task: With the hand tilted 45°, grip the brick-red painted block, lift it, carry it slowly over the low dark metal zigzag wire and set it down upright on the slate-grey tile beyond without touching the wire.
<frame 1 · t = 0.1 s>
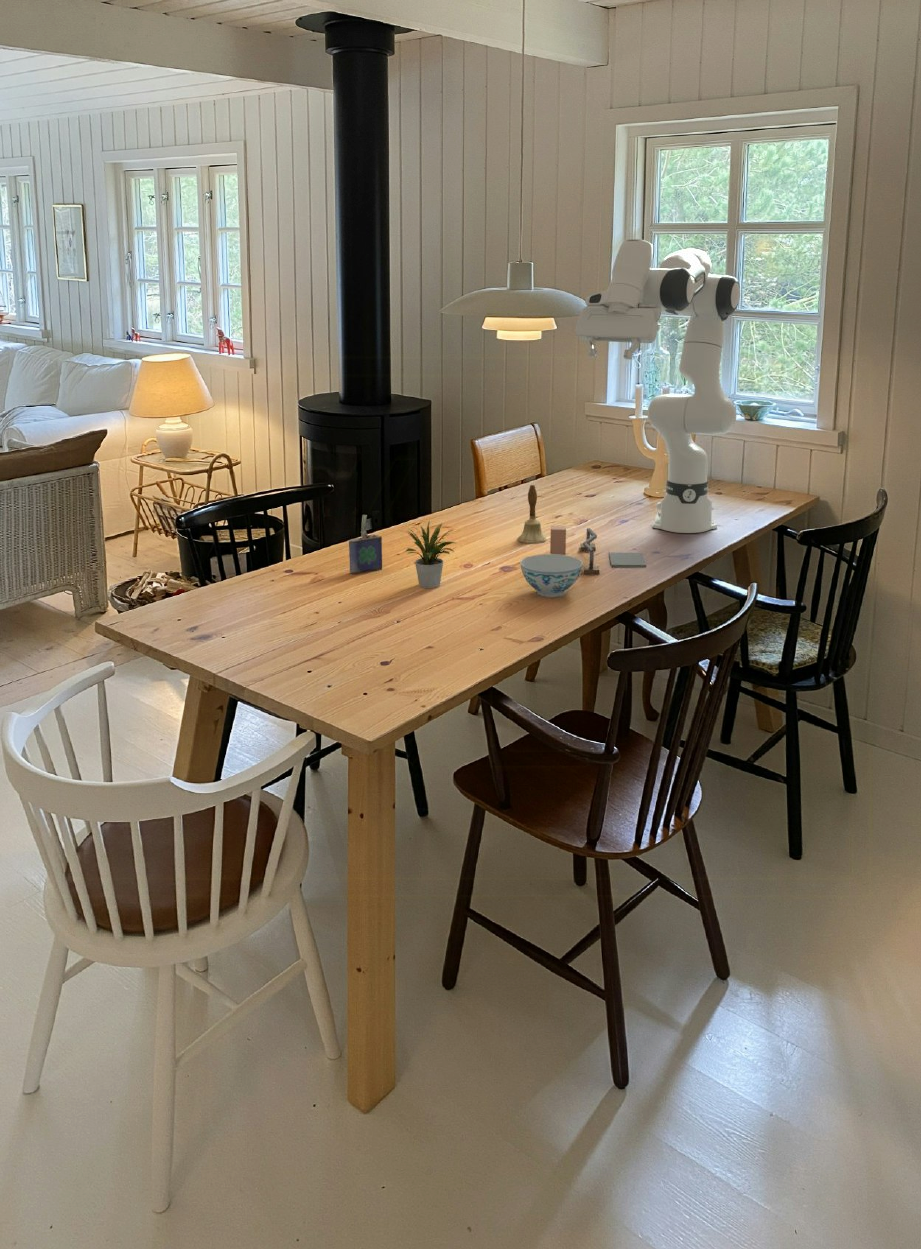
hand: (609, 357, 263), 54 cm above the table, tool tilted 30°, fingers open, 8 cm apart
chinaware: (550, 593, 267), on the table
brick block: (557, 560, 294), on the table
hand bell: (532, 540, 314), on the table
flask: (366, 571, 286), on the table
slate tile: (627, 560, 293), on the table
house plant: (425, 587, 273), on the table
zigzag wire: (589, 560, 293), on the table
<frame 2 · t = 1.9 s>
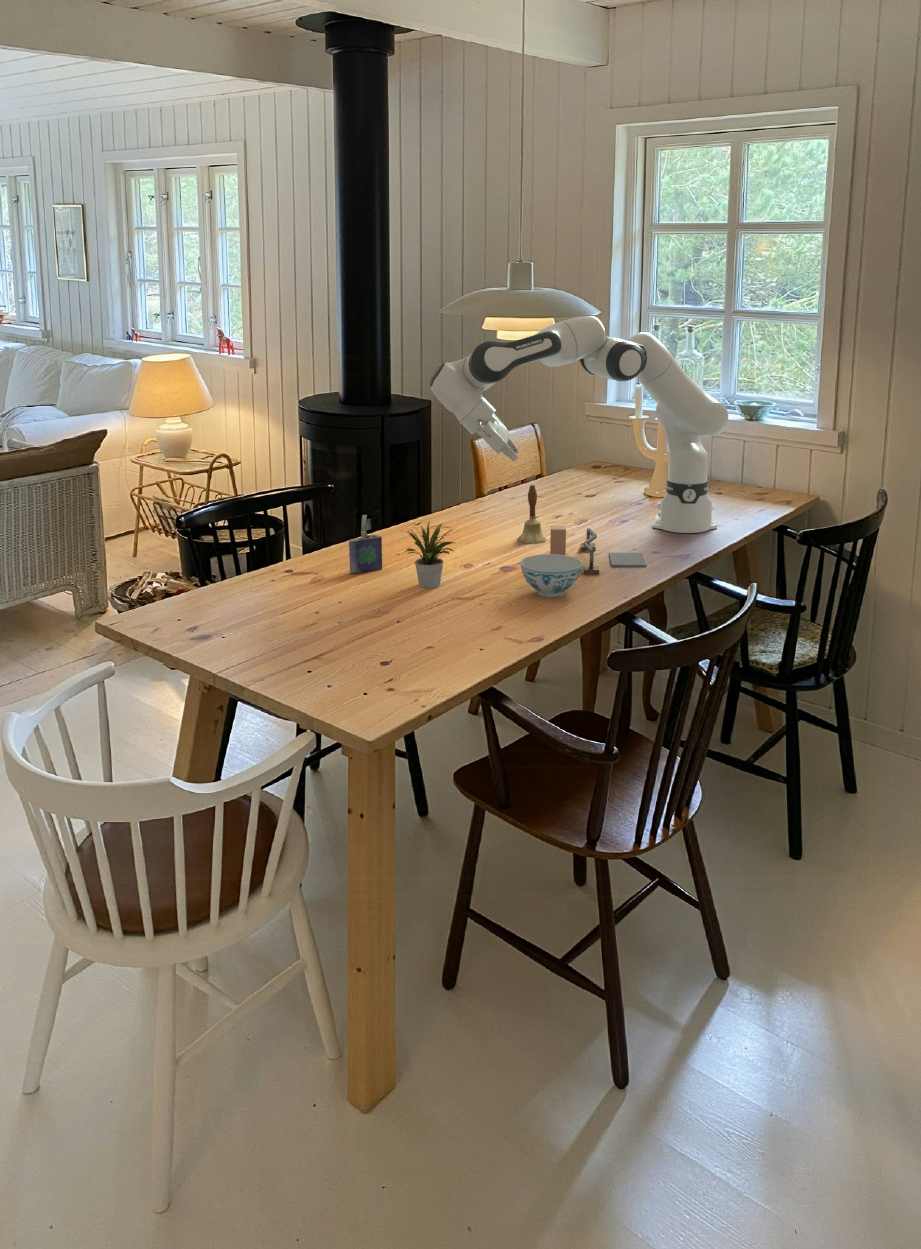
hand: (516, 456, 285), 28 cm above the table, tool tilted 45°, fingers open, 8 cm apart
nothing on the table moved.
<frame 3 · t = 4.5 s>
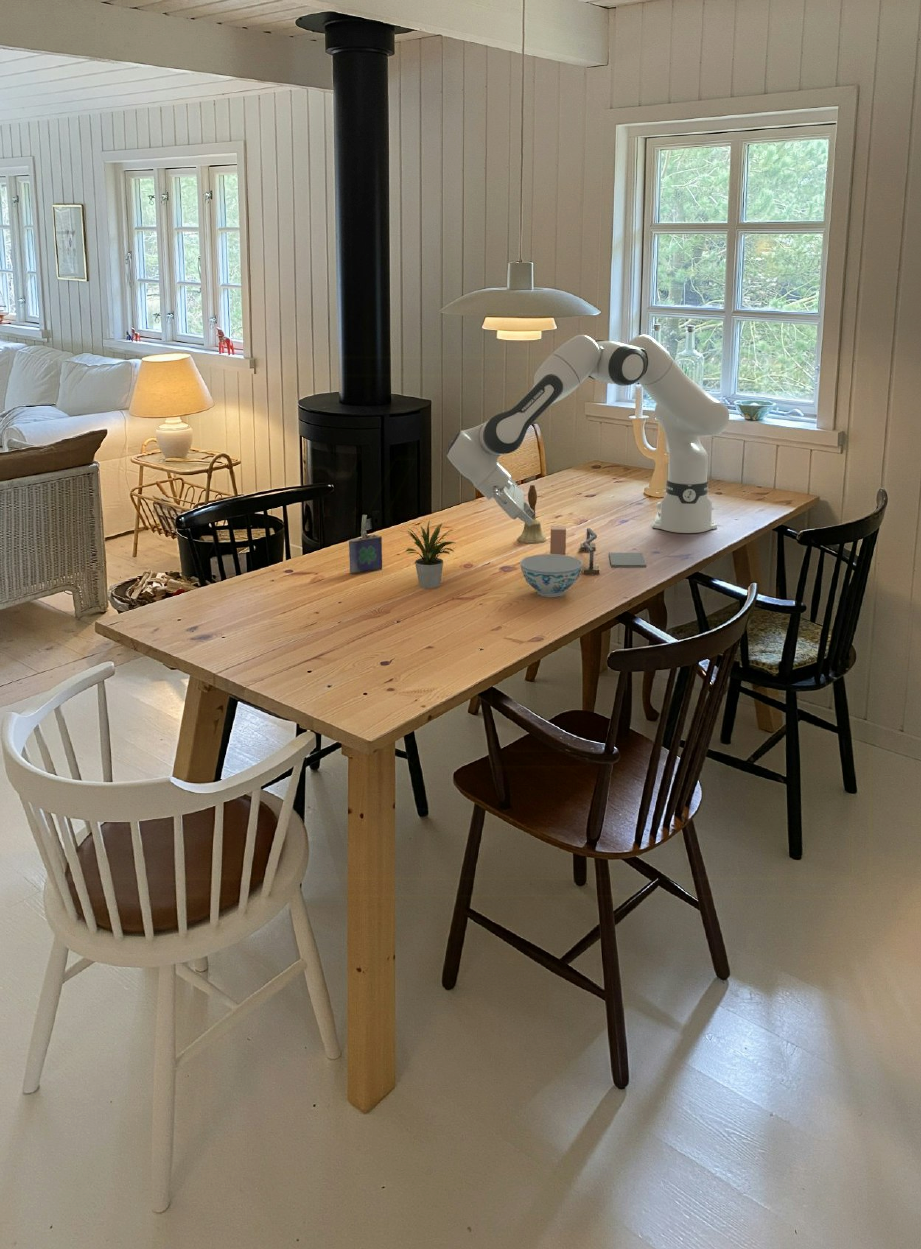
hand: (532, 519, 291), 11 cm above the table, tool tilted 45°, fingers open, 8 cm apart
nothing on the table moved.
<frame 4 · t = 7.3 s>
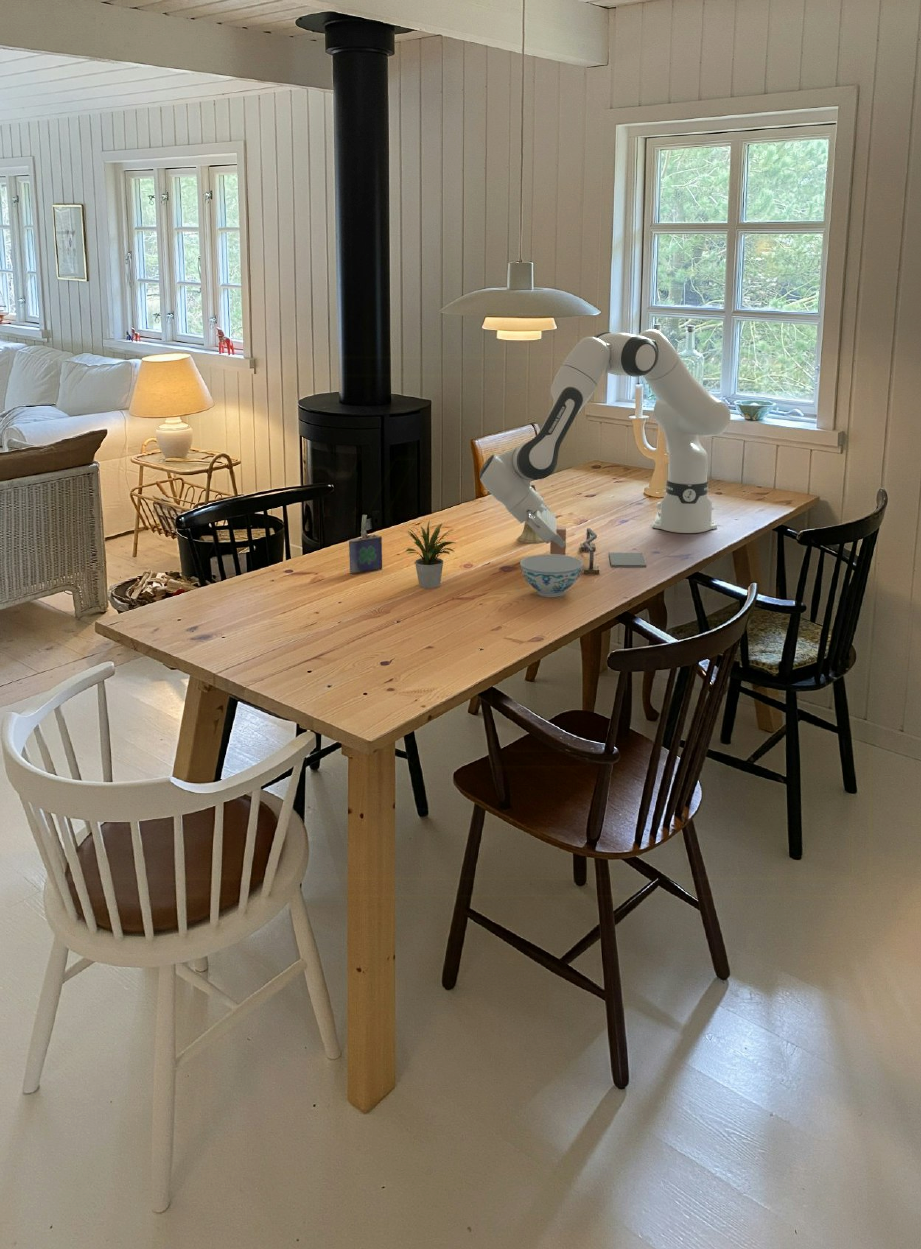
hand: (564, 542, 292), 5 cm above the table, tool tilted 45°, fingers closed on brick block, 4 cm apart
brick block: (557, 560, 294), on the table, touching gripper
everything else where it was.
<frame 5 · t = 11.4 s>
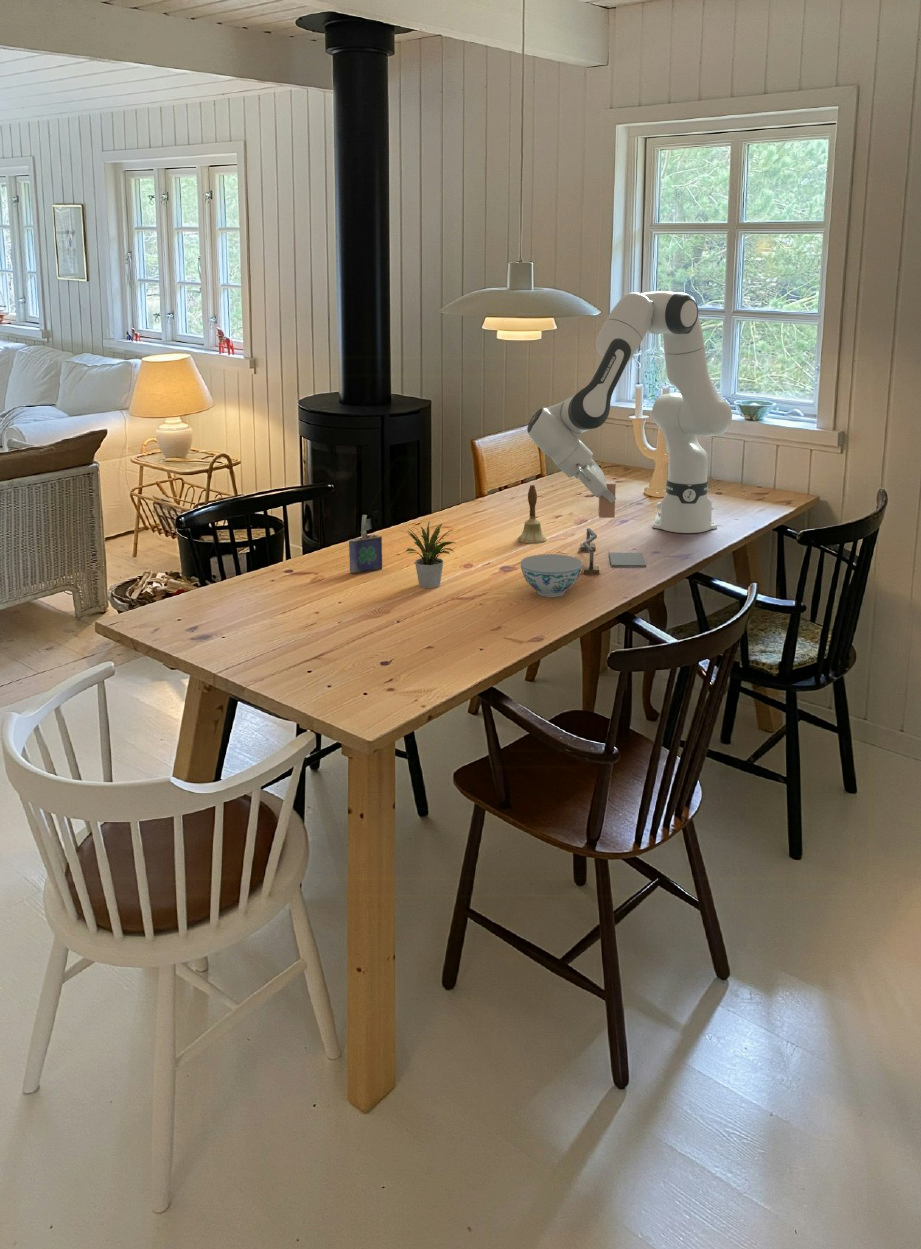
hand: (613, 498, 288), 17 cm above the table, tool tilted 45°, fingers closed on brick block, 4 cm apart
brick block: (606, 515, 289), point 12 cm above the table, touching gripper
everything else where it was.
when the fingers open (6 cm above the table, at t = 15.4 s): brick block stays where it is, resting on slate tile.
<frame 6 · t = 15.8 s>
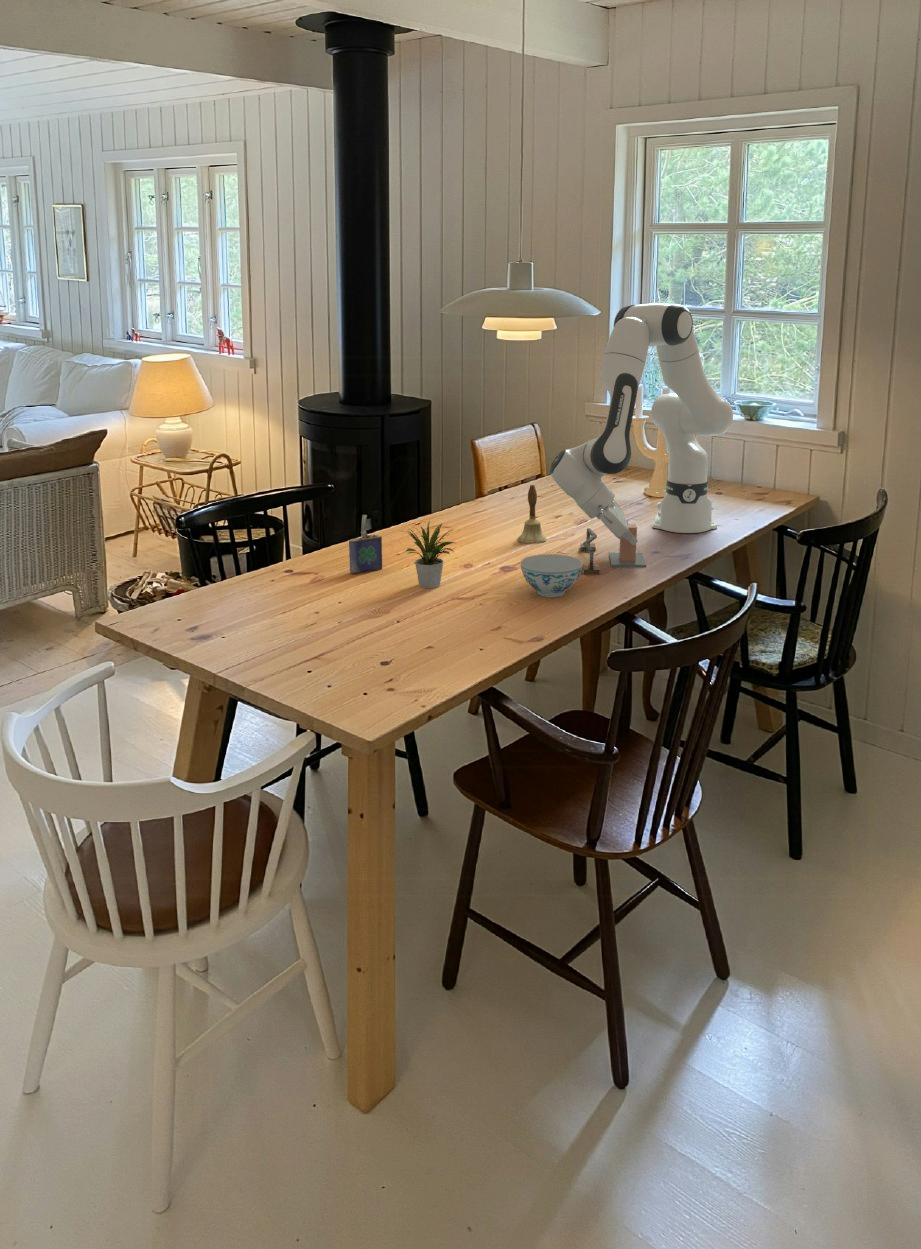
hand: (634, 538, 291), 6 cm above the table, tool tilted 45°, fingers open, 8 cm apart
brick block: (627, 558, 293), point 1 cm above the table, touching slate tile
everything else where it was.
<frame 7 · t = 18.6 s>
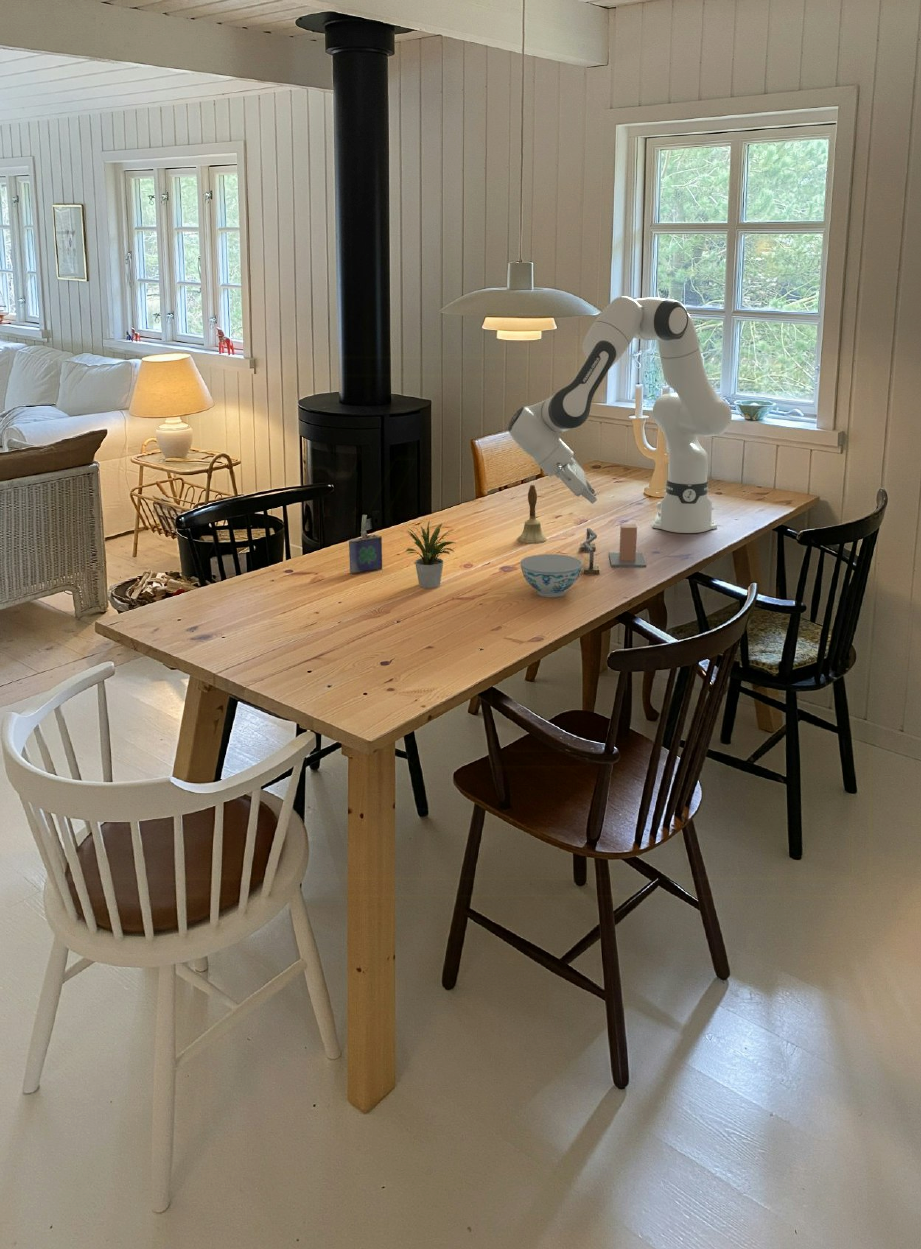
hand: (594, 497, 288), 17 cm above the table, tool tilted 45°, fingers open, 8 cm apart
nothing on the table moved.
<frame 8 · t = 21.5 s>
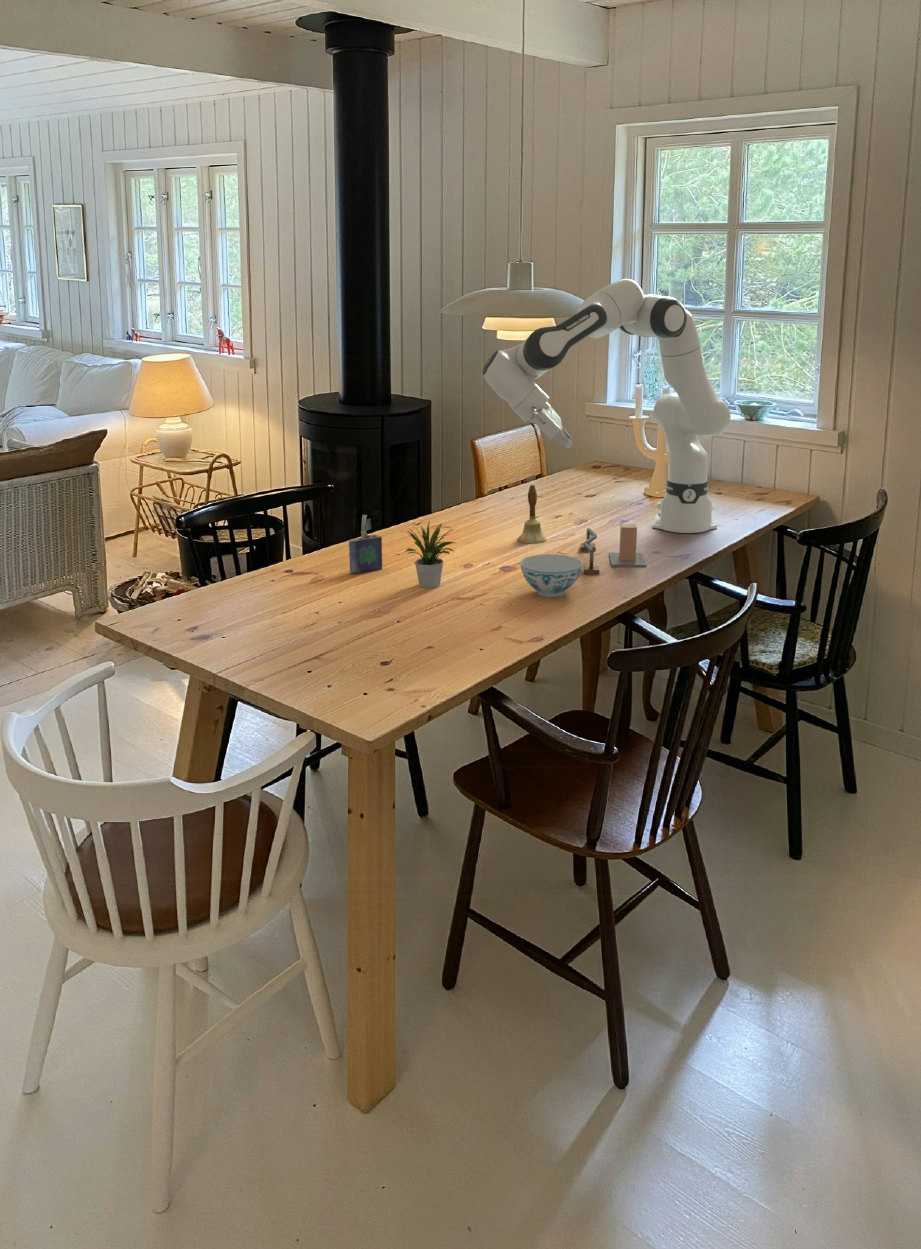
hand: (570, 443, 284), 31 cm above the table, tool tilted 45°, fingers open, 8 cm apart
nothing on the table moved.
at the end: brick block 0.1 cm off-centre on the slate tile, point 0.6 cm above the slate tile's base; brick block tilted 0°; brick block touching slate tile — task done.
